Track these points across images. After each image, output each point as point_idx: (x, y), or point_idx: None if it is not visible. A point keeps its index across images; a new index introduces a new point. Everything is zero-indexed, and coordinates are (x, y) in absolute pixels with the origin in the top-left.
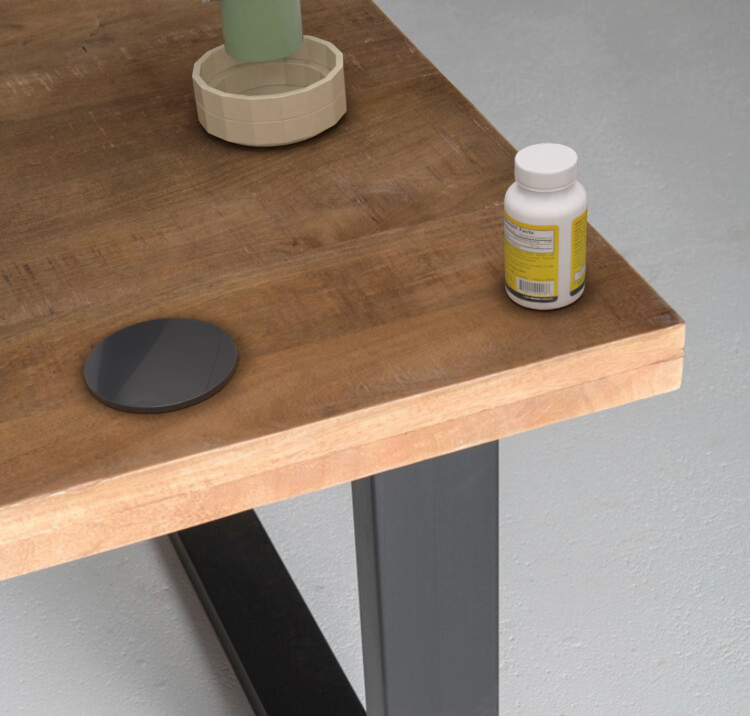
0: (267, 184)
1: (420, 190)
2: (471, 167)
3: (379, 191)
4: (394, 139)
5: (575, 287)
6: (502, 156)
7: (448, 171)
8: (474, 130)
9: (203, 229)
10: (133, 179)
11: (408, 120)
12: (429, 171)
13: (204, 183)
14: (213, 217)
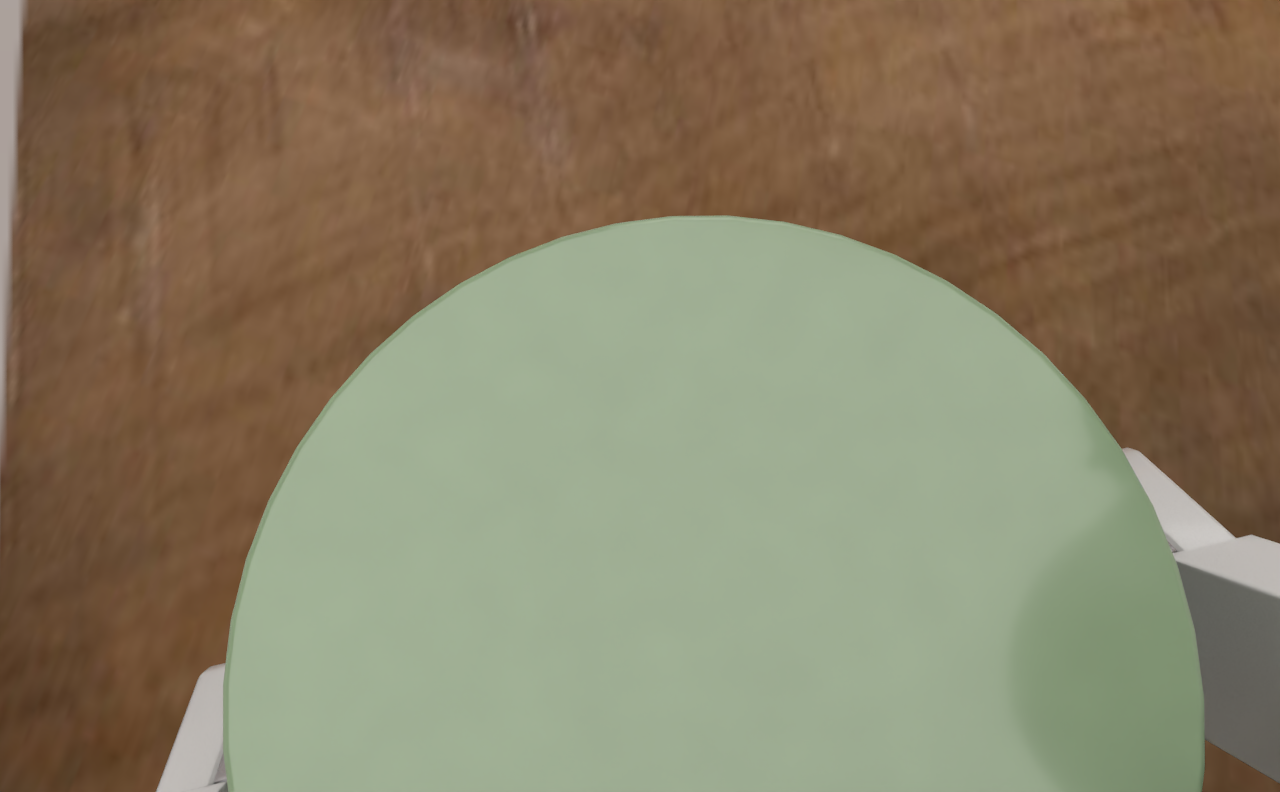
0: (784, 195)
1: (343, 32)
2: (154, 111)
3: (458, 59)
4: (309, 356)
5: None
6: (41, 145)
7: (227, 108)
8: (42, 331)
9: (1006, 3)
10: (1247, 365)
11: (215, 478)
12: (279, 125)
13: (992, 262)
14: (973, 56)
